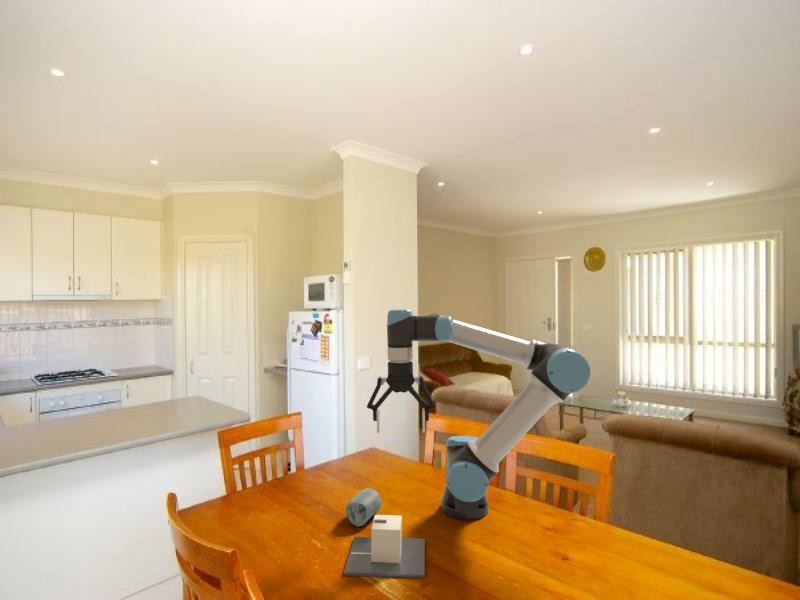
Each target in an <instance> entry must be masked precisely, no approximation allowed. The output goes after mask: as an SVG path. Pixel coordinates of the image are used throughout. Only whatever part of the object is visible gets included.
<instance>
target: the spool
mask: <svg viewBox="0 0 800 600" xmlns="http://www.w3.org/2000/svg"><path fill="white" fill-rule="evenodd" d="M381 507H382V498H381V496H380V494H379V493H378V491H377V490H375V489H374V488H371V487H368V488H367V487H366V488H364V489H361V490H360V491H359V492H357V493H356V494H354V496H352V498H351V499H350V500H349V501H348V502H347V503H346V506H345V514H346V518H347V519H348V520H349V521H350V523H351V524H352V525H353V526H355V527H362V526H364V525H365V524H366V523H368V521H369V520H371V518H372V517H373V516H375V515H376V514H377V513H378V512H379V510H380V509H381Z"/></svg>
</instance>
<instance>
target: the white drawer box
mask: <svg viewBox="0 0 800 600" xmlns="http://www.w3.org/2000/svg"><path fill="white" fill-rule="evenodd" d="M373 516H374V517H373V520H372V521H373V522H372V525H371V536H370V537H371V562H383V563H400V558H401V548H402V538H403V536H402V534H403V528H402V527H403V516H402V515H393V514H374V515H373Z"/></svg>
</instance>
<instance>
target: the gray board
mask: <svg viewBox="0 0 800 600" xmlns="http://www.w3.org/2000/svg"><path fill="white" fill-rule="evenodd" d="M425 542H426V539H425V538H414V537H413V538H410V537H402V548H401V558H400V563H383V562H371V536H354V537H353V540H352V544H351V547H350V549H349V553H348V557H347V559H346V563H345V566H344V570H343V576H345V577H346V576H349V577H351V576H352V577H356V576H357V577H377V578H378V577H379V578H380V577H382V578H389V577H390V578H411V579H412V578H414V579H417V578H418V579H425V570H426V569H425V564H426V562H425V561H426V560H425V557H426V556H425V555H426V554H425V553H426V552H425V548H426V547H425V545H426V543H425Z"/></svg>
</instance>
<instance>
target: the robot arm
mask: <svg viewBox="0 0 800 600" xmlns="http://www.w3.org/2000/svg"><path fill="white" fill-rule="evenodd" d="M386 320H387V322H386V329H387V330H386V332H387V333H386V334H387V336H386V337H387V360H388V362H387V377H382V376H378V377H377V381H376V386H375V389H374V390H373V392H372V394H371V396H370V398H369V400H368V403H367V404H366V408H367V409H368V410H371V411H372V419H373V422H376V433H377V434H380V433H381V408H380V406H381V405H383V403H384V402H385V401H386V399H387V398H388V396H389V395H391V393H392V392H394V393H396V394H398V393H403V394H404V393H407V392H409V393H410V395H412V397H413V398H414V399H415V400H416V401H417V402H418V403H419V405H420V406H421V407H422V412H421V413H422V414H421V415H422V433H423V434H426V422H428V421H429V419H430V410H432V409H435V407H436V405H435V402H434V400H433V398H432V396H431V394H430V393H429V391H428V389H427V386H426V385H425V382H424V381H425V380H424V376H422V375H420V376H419V377H414V368H413V367H414V363H413V352H414V351H413V342H440V343H442V342H448V343H451V344H455V345H458V346H461V347H465V348H468V349H471V350H473V351H477V352H480V353H485V354H487V355H491V356H493V357H498V358H501V359H504V360H506V361H511V362H513V363H517V364H520V365H522V367H523V368H524V369H526V370H530V371H531V372H530V375H529V376H530V381H529V383H528V384H527V385H526V386H525V387H524V388H523V389H522V391H520V393H519V394H517V396H516V397H515V398H514V399H513V400H512V401H511V402H510V403H509V405H508V406H507V407H506V408H505V409H504V410H503V411H502V412H501V413H500V415H499V416H497V418H496V419H495V420H494V421H493V422H492V424H491V425H490V426H489V427H488V428H487V429H486V430H485V431H484V432H483V433H482V435H480V436H479V437H476V436H472V435H454V436H453V435H452V436H450V437H448V438H447V439H446V445H445V448H446V465H445V466H446V469H445V470H446V471H445V481H446V484H445V489H444V492H443V495H442V497H441V510H442V512H444V513H445V514H446V516H447V515H448V516H450V517H452V518H455V519H460V520H476V519H480V518H483V517H485V516H486V515H487V514H488V513H489V501H488V500H489V499H488V497H487V491H488V489H489V483H490V481H492V479H494V477H495V476H496V475H497V474H498V473H499V472H500V469H499V468H500V466H499V463H500V462H501V461H502V460H504V458H505V457H506V456H507V455H508V454H509V452H510V451H512V449H513V448H514V447H515V446H517V444H518V443H519V442H520V441H521V439H522V438H524V437H525V435H526V434H527V433H528V432H529V431H530V430H531V428H533V427H534V426H535V424H536V423H537V422H538V421H540V419H541V418H542V417H543V415H545V413H546V412H548V410H549V409H550V408H551V407H552V406H553V405H554V404H555V403H564V401H565V400H566V399H567V398H568V397H569V396H570V395H571V394H573V393H577V392H580V391H581V390H582V389H584V388H585V387H586V386H587V384H588V383H589V381H590V378H591V368H590V364H589V362H588V360H587V358H586V357H585V356H584V355H583V354H582V353H581V352H579V351H578V350H577V349H575V348H572V347H568V346H565V345H562V344H558V343H557V344H556V343H550V342H546V341H545V342H544V341H540V340H535V339H531V340H525V339H522V338H518V337H515V336H511V335H507V334H504V333H501V332H497V331H495V330H491V329H487V328H484V327H481V326H478V325H474V324H470V323H466V322H463V321H461V320H457V319H453V318H452V316H449V315H443V314H442V315H441V314H438V313H431V314H429V315H420V316H418V315H413V311H412V310H411V309H391V310H390V309H389V310H388V312H387V319H386ZM415 382H416V384H417V385H419V386H420V388H421V391H422V392H423V395H424V397H425V398H426V399H425V400H426V401H427V402H428V404H427V402H426V401H425V400H424V398H423V397H421V395H420V394H419V393H418V392H417V391H416V390H415V388H414V387H413V384H414V383H415ZM385 383H387V385H388V386H389V387H388V388H387V390H386V391H384V393H383V394H382V395H381V396H380V397H379V399H378V400H377V401H376V402H375V404H374V401H375V400H376V397H377V394H379V391H380V389H381V387H382V386H384V385H385Z"/></svg>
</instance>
